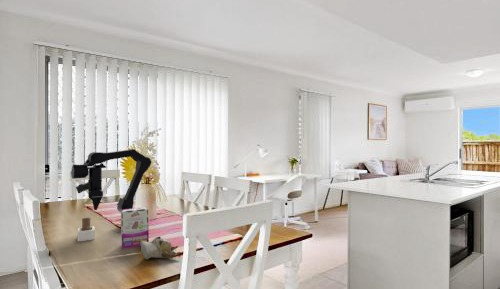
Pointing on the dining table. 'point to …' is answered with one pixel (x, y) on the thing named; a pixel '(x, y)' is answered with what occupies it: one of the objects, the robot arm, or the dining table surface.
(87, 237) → the white square frame
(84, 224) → the dowel
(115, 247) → the dining table surface
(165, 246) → the ceramic sculpture
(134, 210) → the candy bar box
